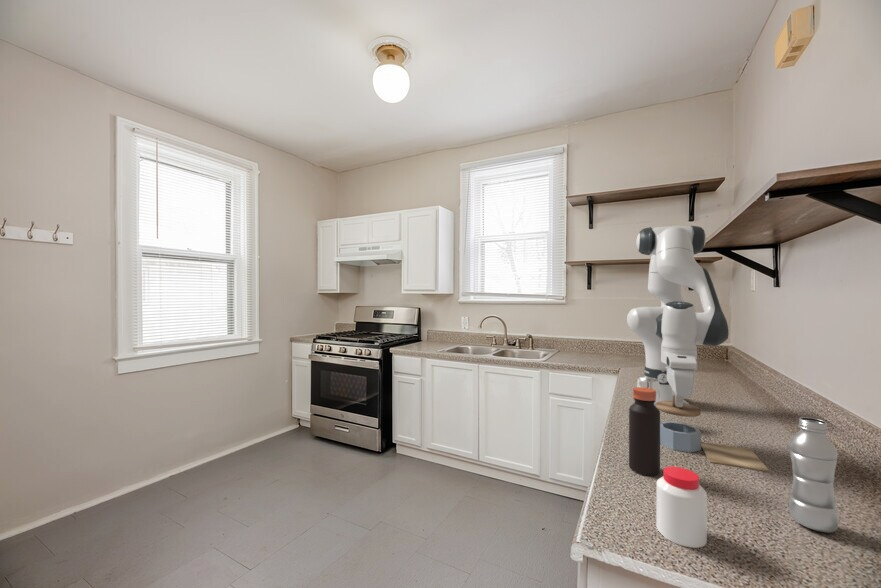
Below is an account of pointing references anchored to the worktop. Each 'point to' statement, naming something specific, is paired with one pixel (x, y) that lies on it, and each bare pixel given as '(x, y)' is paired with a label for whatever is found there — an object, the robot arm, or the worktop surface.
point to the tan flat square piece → (732, 456)
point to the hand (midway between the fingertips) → (677, 404)
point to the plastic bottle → (813, 476)
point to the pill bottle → (681, 507)
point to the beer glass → (650, 385)
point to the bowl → (680, 436)
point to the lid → (678, 408)
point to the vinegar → (644, 433)
